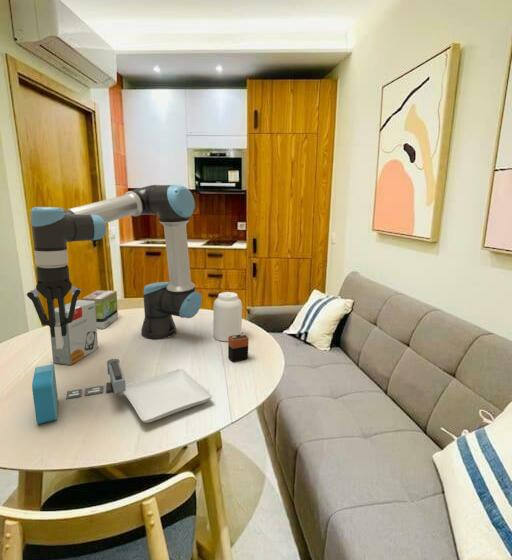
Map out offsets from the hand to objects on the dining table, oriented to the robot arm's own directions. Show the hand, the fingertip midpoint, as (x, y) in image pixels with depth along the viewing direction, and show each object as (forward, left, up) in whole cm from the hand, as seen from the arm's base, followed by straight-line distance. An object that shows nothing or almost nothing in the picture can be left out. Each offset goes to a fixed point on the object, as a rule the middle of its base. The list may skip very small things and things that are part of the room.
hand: (60, 346), depth 95 cm
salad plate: (-27, +10, -18) cm, 34 cm away
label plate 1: (-2, -2, -17) cm, 17 cm away
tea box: (-8, -65, -17) cm, 68 cm away
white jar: (-60, -30, -17) cm, 70 cm away
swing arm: (-14, +3, -12) cm, 19 cm away
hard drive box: (0, -31, -17) cm, 36 cm away
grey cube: (-13, -2, -17) cm, 22 cm away
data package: (+4, +5, -17) cm, 18 cm away
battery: (-57, -8, -17) cm, 61 cm away
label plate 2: (-7, -2, -17) cm, 19 cm away
